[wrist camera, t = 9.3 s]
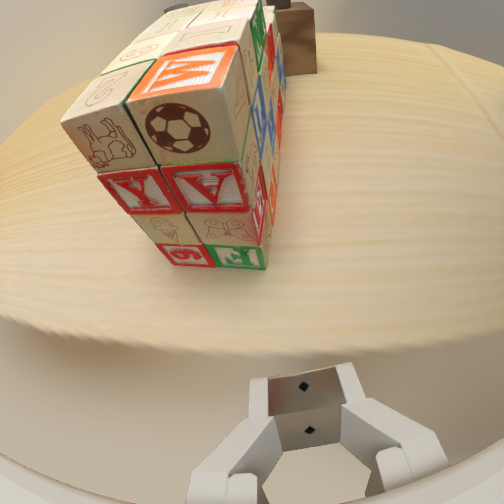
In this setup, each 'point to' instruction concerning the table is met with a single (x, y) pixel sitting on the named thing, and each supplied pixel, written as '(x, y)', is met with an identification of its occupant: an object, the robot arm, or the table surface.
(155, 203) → the stack of blocks
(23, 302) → the table surface
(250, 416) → the robot arm
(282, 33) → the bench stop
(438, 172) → the table surface
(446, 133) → the table surface
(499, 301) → the table surface
